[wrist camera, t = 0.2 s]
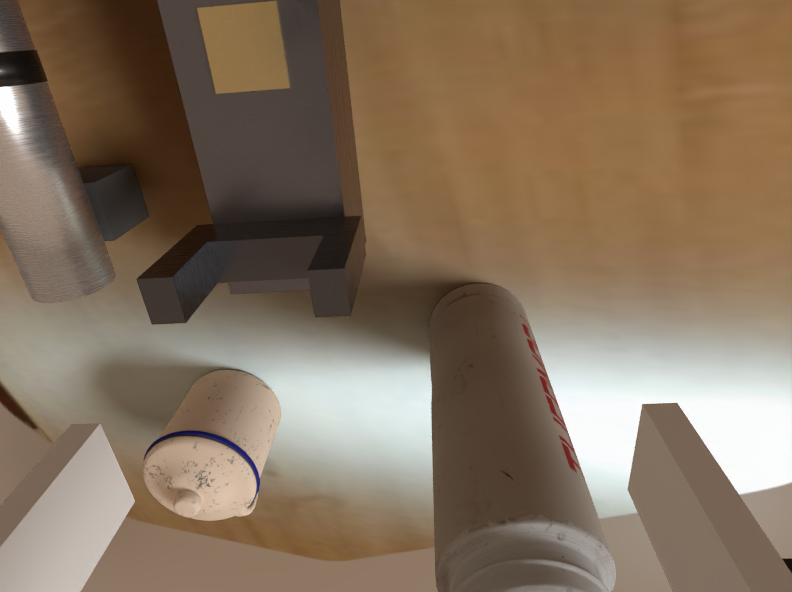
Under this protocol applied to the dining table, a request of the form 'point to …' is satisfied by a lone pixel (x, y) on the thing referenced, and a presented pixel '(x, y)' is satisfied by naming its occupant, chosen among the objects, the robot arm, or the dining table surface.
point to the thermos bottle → (505, 459)
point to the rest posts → (114, 198)
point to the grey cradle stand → (264, 156)
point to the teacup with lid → (214, 447)
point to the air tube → (42, 180)
